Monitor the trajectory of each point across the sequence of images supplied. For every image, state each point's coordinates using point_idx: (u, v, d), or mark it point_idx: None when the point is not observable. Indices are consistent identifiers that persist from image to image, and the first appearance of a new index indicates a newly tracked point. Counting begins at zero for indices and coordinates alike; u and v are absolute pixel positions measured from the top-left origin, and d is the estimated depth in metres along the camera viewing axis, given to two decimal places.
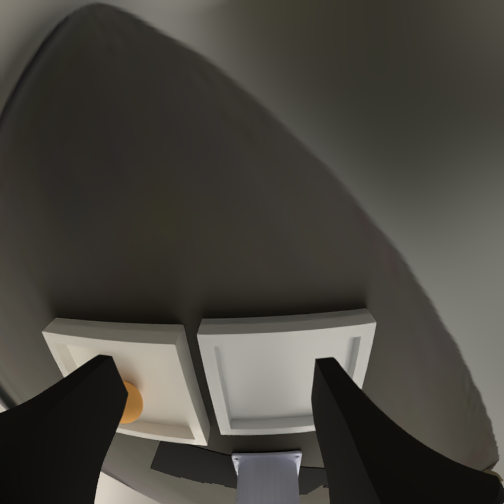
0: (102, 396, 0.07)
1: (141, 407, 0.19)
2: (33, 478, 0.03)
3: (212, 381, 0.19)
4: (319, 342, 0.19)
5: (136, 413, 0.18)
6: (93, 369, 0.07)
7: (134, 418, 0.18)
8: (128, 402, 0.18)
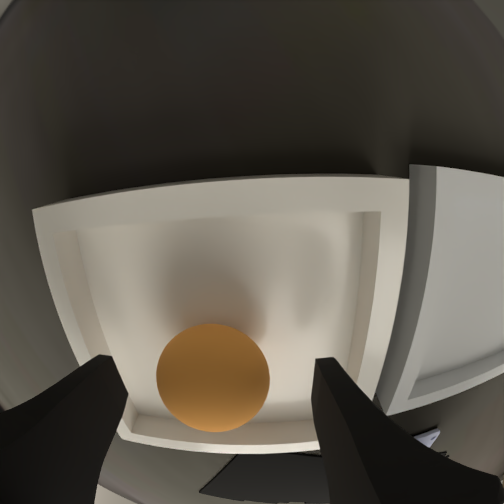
0: (102, 396, 0.07)
1: (269, 383, 0.09)
2: (33, 478, 0.03)
3: (433, 285, 0.09)
4: None
5: (263, 399, 0.08)
6: (93, 369, 0.07)
7: (255, 413, 0.08)
8: (252, 369, 0.08)
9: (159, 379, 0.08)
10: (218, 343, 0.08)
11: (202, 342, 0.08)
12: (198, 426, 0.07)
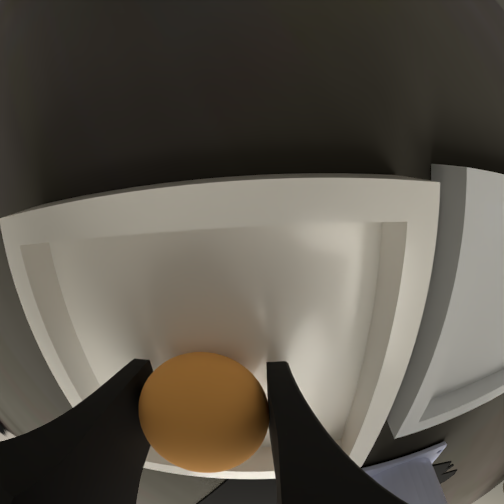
0: None
1: None
2: (78, 502, 0.03)
3: (457, 304, 0.07)
4: None
5: (261, 439, 0.06)
6: (133, 375, 0.07)
7: None
8: (248, 411, 0.06)
9: (141, 417, 0.06)
10: (208, 380, 0.06)
11: (188, 379, 0.06)
12: (187, 469, 0.06)
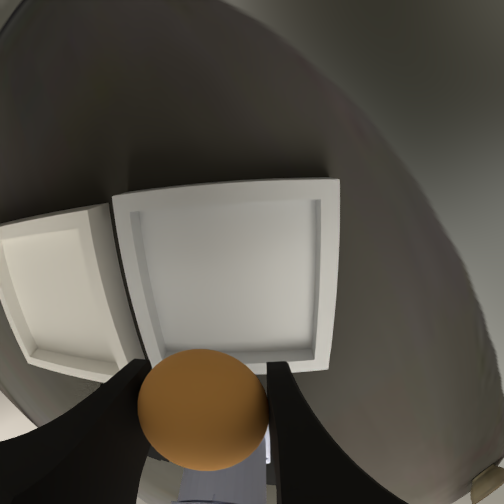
0: None
1: None
2: (78, 502, 0.03)
3: (130, 271, 0.15)
4: (267, 217, 0.15)
5: (261, 437, 0.06)
6: (133, 375, 0.07)
7: (253, 451, 0.06)
8: (248, 408, 0.06)
9: (140, 414, 0.06)
10: (207, 377, 0.06)
11: (188, 376, 0.06)
12: (187, 467, 0.06)
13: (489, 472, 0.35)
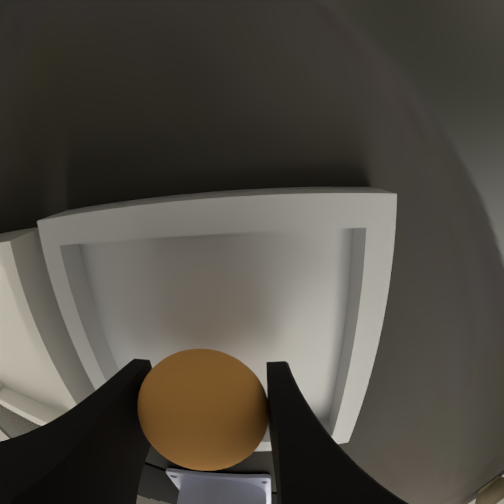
0: None
1: None
2: (78, 502, 0.03)
3: (73, 328, 0.09)
4: (274, 253, 0.09)
5: (261, 436, 0.06)
6: (133, 375, 0.07)
7: (253, 451, 0.06)
8: (248, 407, 0.06)
9: (140, 414, 0.06)
10: (207, 377, 0.06)
11: (188, 375, 0.06)
12: (187, 467, 0.06)
13: (495, 484, 0.29)
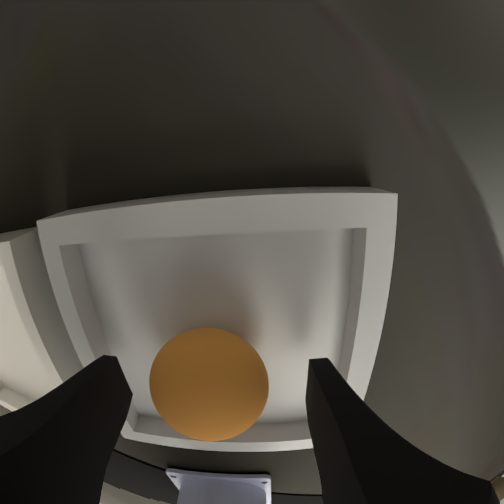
0: (107, 397, 0.07)
1: (268, 389, 0.08)
2: (38, 481, 0.03)
3: (72, 328, 0.09)
4: (274, 253, 0.09)
5: (262, 407, 0.08)
6: (98, 370, 0.07)
7: (254, 421, 0.07)
8: (250, 376, 0.07)
9: (152, 386, 0.07)
10: (214, 348, 0.07)
11: (197, 347, 0.07)
12: (194, 435, 0.07)
13: (495, 484, 0.29)
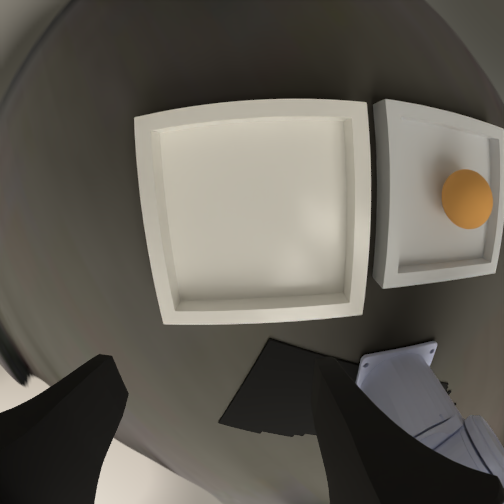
0: (102, 396, 0.07)
1: None
2: (33, 478, 0.03)
3: (395, 170, 0.14)
4: (470, 146, 0.14)
5: None
6: (93, 369, 0.07)
7: None
8: None
9: (463, 187, 0.12)
10: None
11: (472, 170, 0.13)
12: (483, 210, 0.12)
13: None
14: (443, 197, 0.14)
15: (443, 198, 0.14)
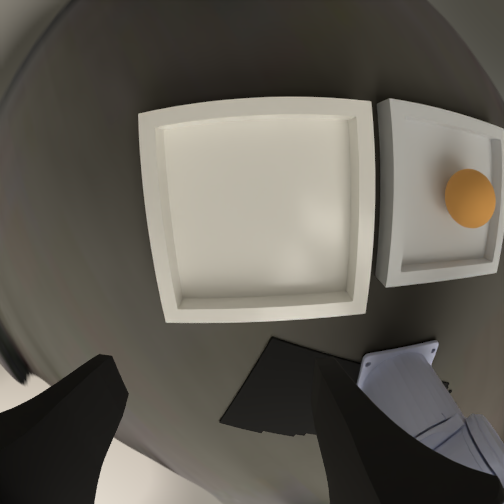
0: (102, 396, 0.07)
1: None
2: (33, 478, 0.03)
3: (399, 169, 0.14)
4: (472, 146, 0.14)
5: None
6: (93, 369, 0.07)
7: None
8: None
9: (468, 186, 0.12)
10: (478, 171, 0.13)
11: None
12: (487, 209, 0.12)
13: None
14: (447, 196, 0.14)
15: (447, 197, 0.14)
